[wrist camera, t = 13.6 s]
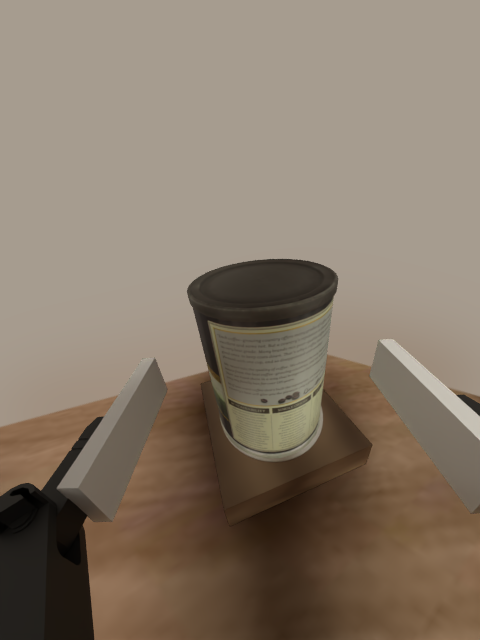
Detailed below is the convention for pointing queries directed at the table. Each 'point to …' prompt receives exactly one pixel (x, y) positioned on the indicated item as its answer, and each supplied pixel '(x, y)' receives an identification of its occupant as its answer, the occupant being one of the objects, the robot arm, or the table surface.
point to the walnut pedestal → (282, 461)
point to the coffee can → (266, 349)
